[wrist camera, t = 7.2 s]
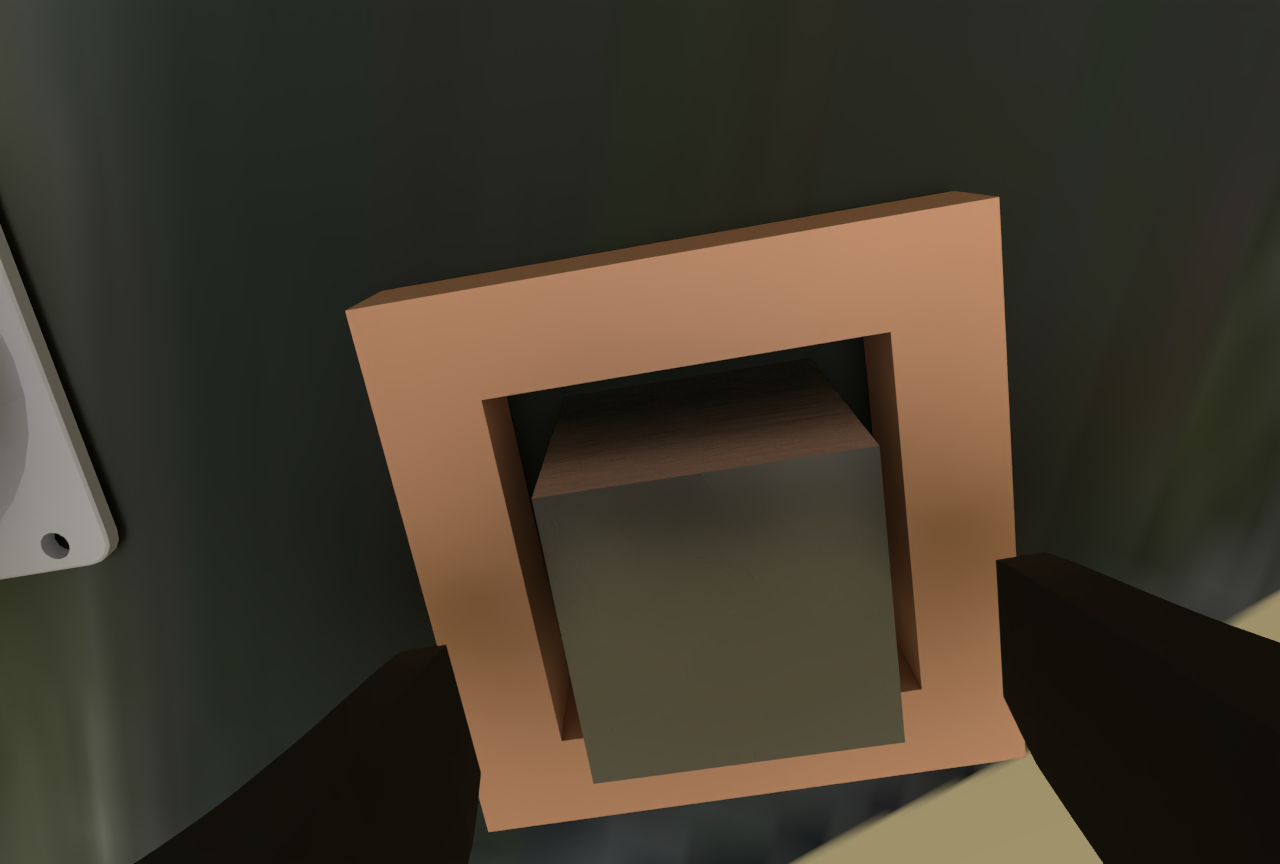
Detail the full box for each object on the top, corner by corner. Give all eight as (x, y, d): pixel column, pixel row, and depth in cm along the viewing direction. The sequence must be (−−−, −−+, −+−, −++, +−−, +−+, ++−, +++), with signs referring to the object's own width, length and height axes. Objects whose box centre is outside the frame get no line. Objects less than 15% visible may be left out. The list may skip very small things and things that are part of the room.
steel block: (607, 612, 18) (593, 784, 13) (564, 396, 16) (531, 499, 11) (833, 578, 17) (904, 741, 13) (809, 357, 16) (879, 446, 11)
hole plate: (504, 761, 19) (488, 832, 17) (382, 290, 16) (344, 310, 14) (985, 693, 18) (1025, 757, 16) (953, 191, 15) (999, 196, 13)
